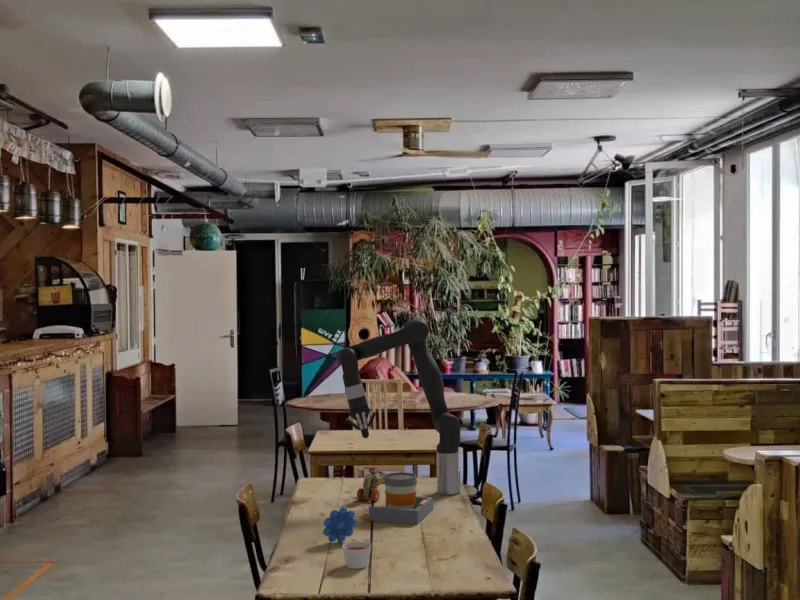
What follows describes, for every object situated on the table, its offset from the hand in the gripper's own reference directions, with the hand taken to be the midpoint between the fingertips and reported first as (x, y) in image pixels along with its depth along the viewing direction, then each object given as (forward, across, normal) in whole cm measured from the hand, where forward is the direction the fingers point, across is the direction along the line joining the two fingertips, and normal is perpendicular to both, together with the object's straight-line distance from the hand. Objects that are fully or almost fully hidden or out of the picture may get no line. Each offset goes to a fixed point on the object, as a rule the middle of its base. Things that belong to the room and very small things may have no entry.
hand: (366, 437), depth 333 cm
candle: (+28, -10, -75) cm, 81 cm away
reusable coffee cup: (+29, +6, -19) cm, 36 cm away
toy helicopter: (+26, -3, +9) cm, 28 cm away
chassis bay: (+29, +7, -19) cm, 36 cm away
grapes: (+26, -16, -50) cm, 58 cm away
